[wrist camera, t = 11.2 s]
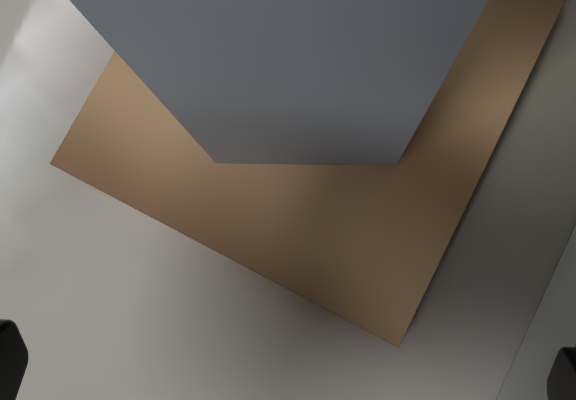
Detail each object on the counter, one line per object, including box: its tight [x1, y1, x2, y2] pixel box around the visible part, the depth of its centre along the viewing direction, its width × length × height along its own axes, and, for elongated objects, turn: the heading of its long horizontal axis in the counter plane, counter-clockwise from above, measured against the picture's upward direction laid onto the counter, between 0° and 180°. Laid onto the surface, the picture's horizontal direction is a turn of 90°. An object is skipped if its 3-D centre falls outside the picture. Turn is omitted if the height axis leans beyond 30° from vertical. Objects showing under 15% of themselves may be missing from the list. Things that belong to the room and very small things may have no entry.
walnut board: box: [50, 0, 565, 347], centre depth 16 cm, size 11×11×1 cm
